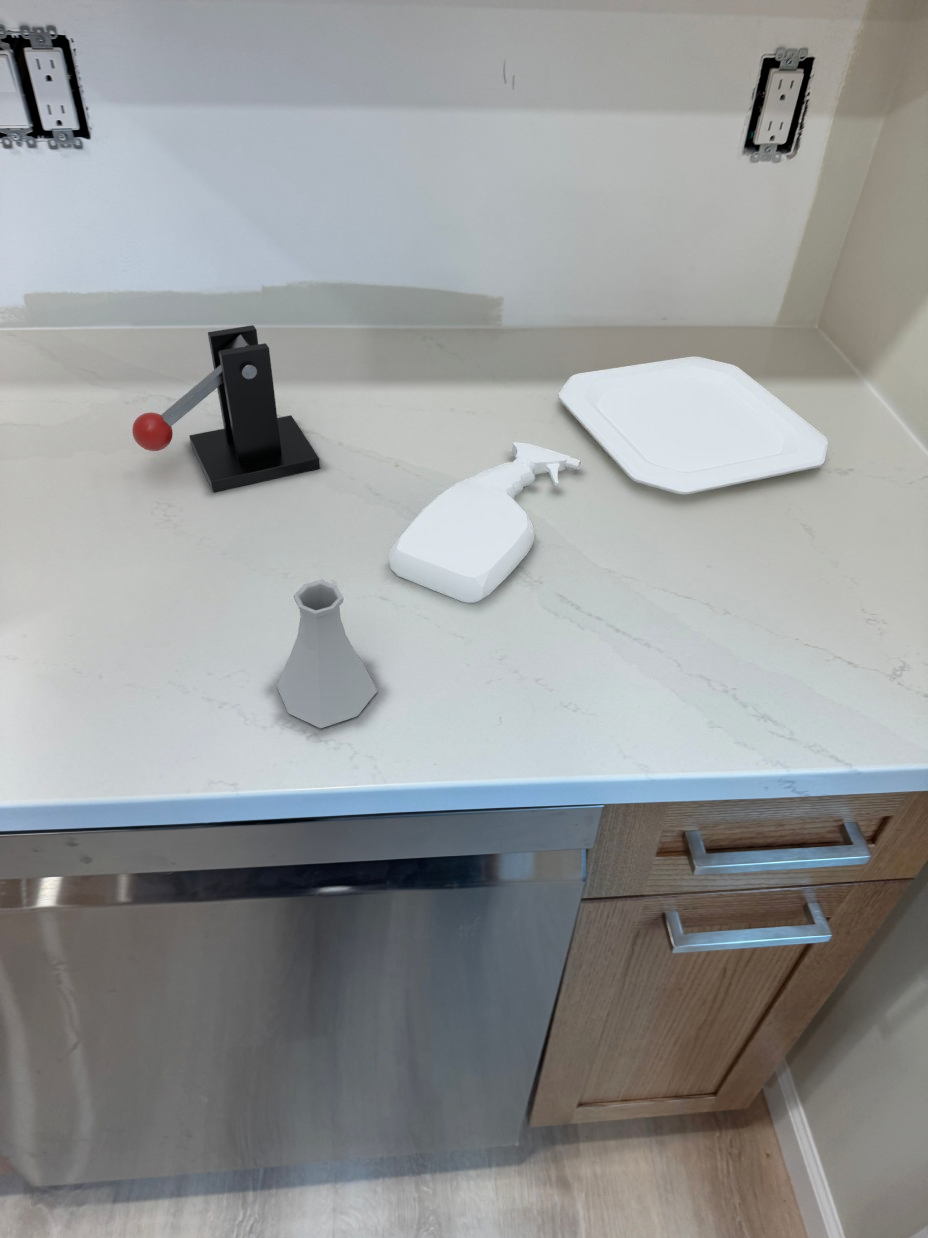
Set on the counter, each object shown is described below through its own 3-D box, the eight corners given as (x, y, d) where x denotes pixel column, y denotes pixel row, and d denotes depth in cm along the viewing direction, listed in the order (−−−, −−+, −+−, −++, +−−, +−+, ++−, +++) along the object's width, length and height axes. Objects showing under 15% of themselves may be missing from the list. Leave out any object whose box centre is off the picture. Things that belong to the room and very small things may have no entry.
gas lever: (156, 464, 79) (127, 441, 76) (148, 445, 81) (120, 422, 78) (269, 369, 77) (245, 342, 75) (258, 353, 80) (234, 326, 77)
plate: (648, 515, 81) (652, 497, 80) (541, 394, 97) (543, 377, 96) (845, 473, 89) (853, 455, 87) (715, 367, 105) (719, 350, 103)
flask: (335, 642, 67) (327, 547, 60) (394, 693, 63) (393, 599, 56) (260, 688, 63) (243, 592, 56) (318, 745, 59) (307, 650, 52)
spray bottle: (377, 571, 73) (499, 447, 89) (486, 615, 70) (591, 478, 86) (376, 545, 71) (501, 423, 87) (488, 589, 68) (596, 454, 84)
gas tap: (213, 492, 80) (189, 371, 71) (191, 445, 86) (166, 328, 77) (320, 468, 84) (310, 351, 75) (292, 425, 90) (280, 310, 81)
